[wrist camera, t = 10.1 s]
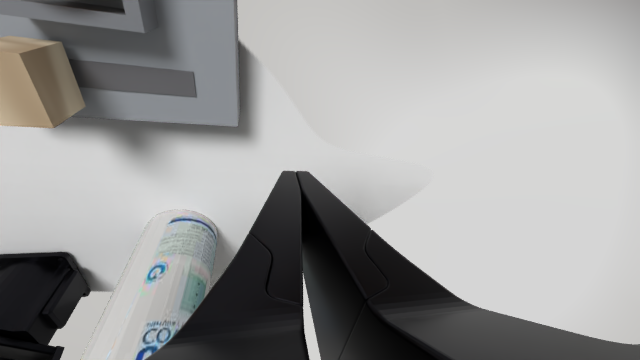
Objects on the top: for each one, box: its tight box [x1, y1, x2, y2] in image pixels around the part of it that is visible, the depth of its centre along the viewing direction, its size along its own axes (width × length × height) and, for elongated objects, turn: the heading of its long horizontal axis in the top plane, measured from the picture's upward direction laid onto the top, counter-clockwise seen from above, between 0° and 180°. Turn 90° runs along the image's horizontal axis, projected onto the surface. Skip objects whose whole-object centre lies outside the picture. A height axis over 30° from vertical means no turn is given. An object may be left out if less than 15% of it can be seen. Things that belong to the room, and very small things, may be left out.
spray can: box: [80, 210, 217, 360], centre depth 17 cm, size 6×6×20 cm
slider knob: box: [0, 36, 86, 128], centre depth 12 cm, size 2×3×3 cm, turn 172°
